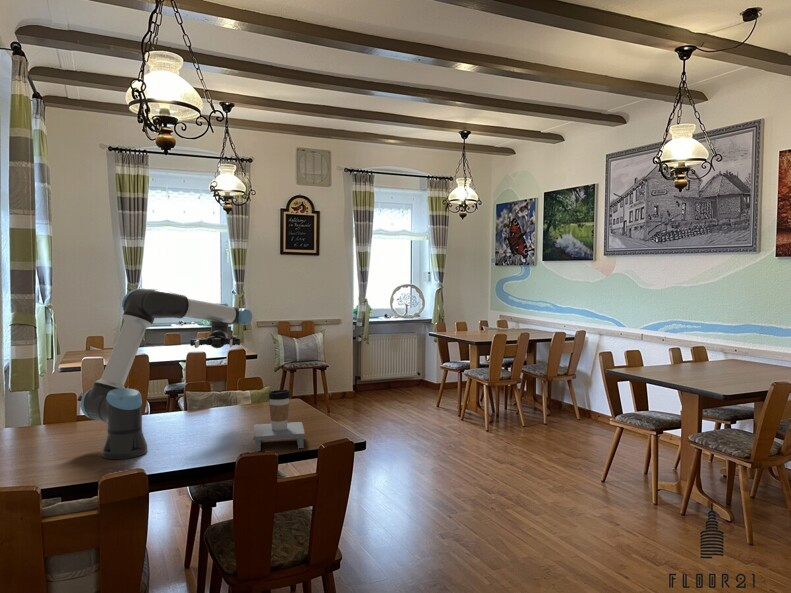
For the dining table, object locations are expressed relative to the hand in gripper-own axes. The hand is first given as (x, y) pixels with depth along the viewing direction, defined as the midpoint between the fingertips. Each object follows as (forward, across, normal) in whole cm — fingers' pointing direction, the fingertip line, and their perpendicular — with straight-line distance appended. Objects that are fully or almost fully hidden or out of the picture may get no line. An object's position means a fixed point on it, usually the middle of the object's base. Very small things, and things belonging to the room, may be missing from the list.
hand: (213, 344), depth 238 cm
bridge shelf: (+18, -26, -38) cm, 49 cm away
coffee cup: (+18, -26, -32) cm, 45 cm away
